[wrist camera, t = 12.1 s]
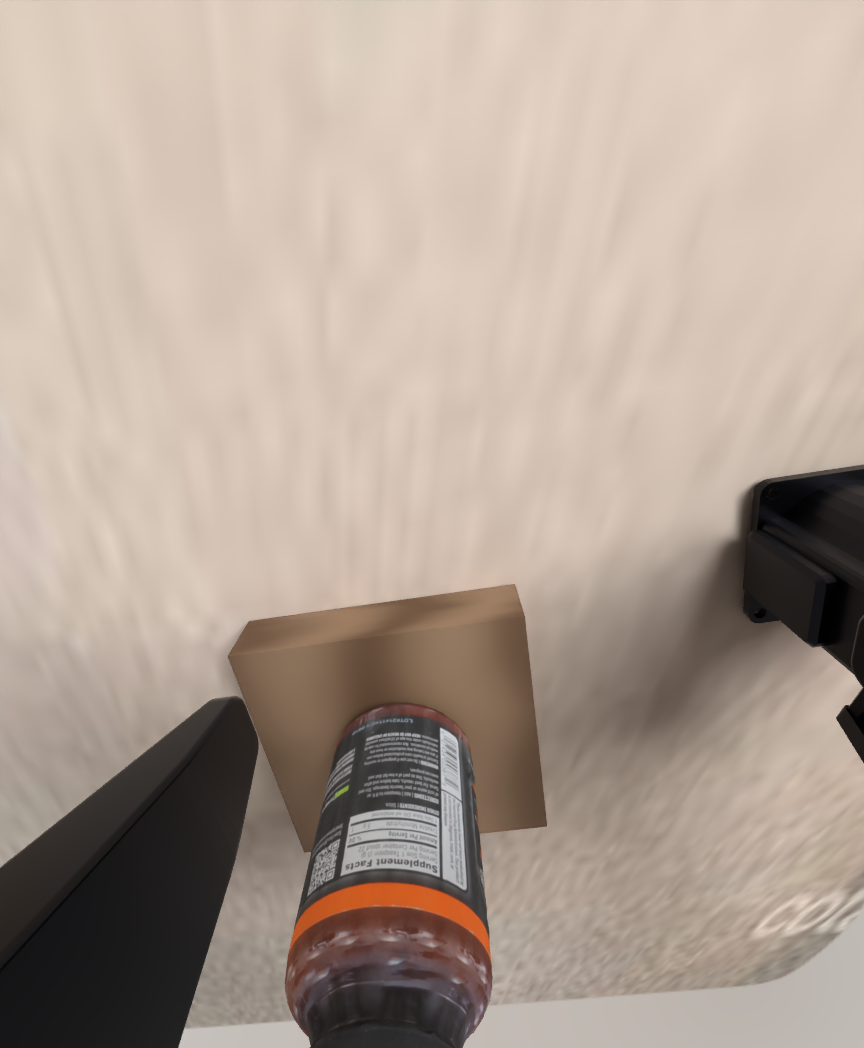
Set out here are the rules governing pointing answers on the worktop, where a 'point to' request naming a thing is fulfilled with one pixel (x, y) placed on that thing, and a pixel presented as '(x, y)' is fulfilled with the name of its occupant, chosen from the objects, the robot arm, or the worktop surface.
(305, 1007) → the supplement bottle
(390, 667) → the walnut plinth
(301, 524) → the worktop surface
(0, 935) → the robot arm
